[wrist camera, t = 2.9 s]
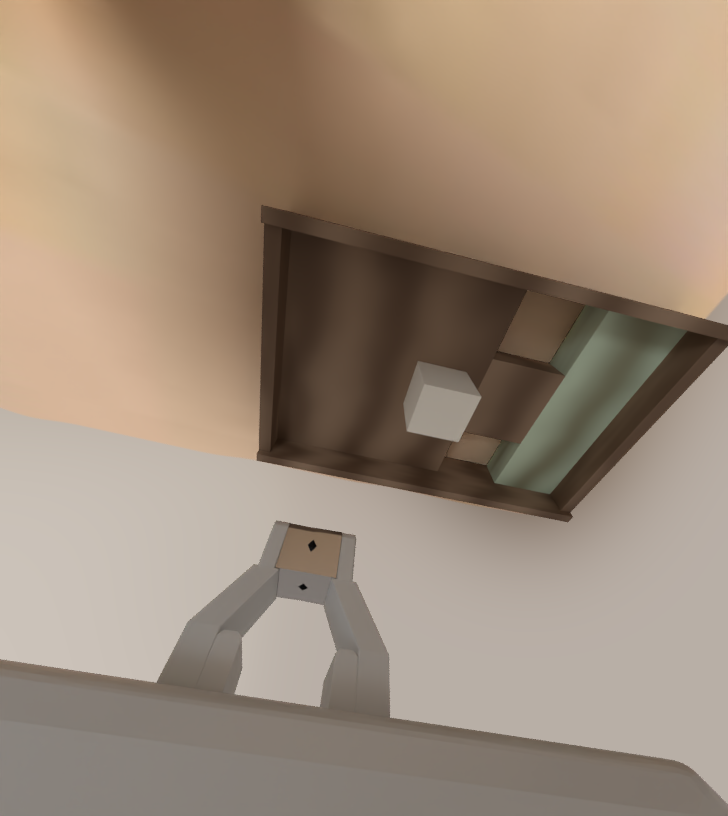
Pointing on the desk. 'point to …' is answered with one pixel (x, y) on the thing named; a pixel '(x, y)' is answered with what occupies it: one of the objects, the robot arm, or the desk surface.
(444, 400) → the block
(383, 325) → the dark brown rimmed tray
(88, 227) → the desk surface
